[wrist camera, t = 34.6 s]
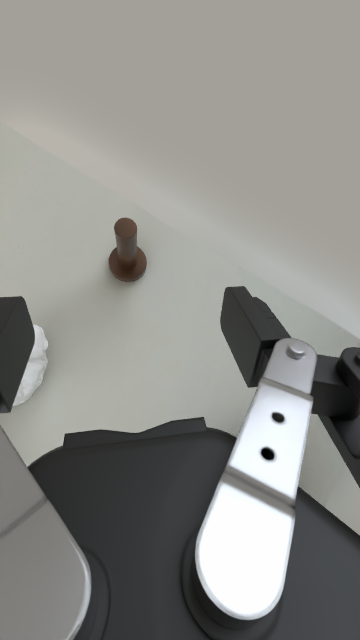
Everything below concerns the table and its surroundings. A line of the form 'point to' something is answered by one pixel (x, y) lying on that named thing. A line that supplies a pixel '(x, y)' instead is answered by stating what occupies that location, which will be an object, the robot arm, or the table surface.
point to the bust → (33, 368)
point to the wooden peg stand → (127, 252)
